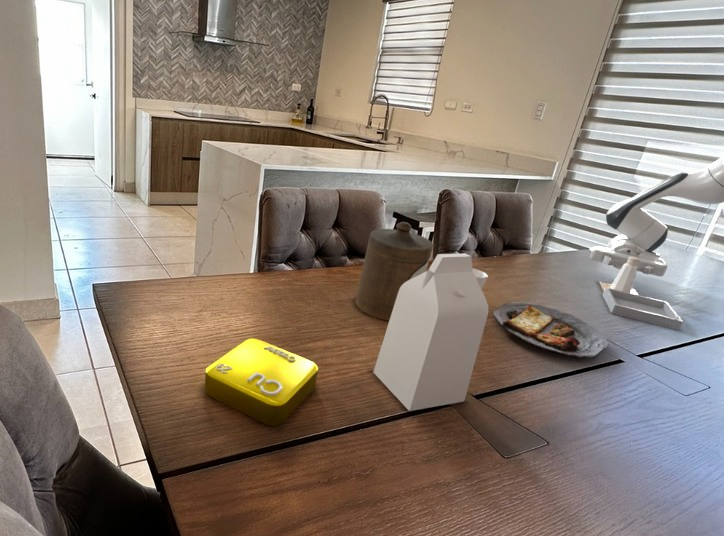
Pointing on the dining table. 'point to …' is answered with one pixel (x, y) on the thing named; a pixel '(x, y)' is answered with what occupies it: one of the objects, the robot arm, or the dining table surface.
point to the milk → (434, 335)
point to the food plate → (551, 329)
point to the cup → (480, 277)
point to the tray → (642, 308)
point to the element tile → (261, 381)
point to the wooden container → (390, 267)
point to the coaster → (606, 285)
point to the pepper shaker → (626, 276)
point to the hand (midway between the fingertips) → (628, 267)
